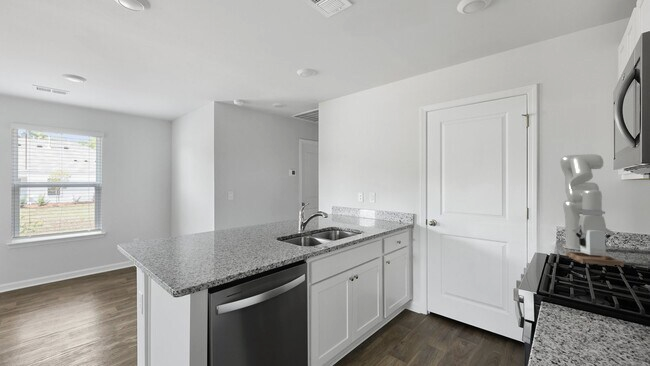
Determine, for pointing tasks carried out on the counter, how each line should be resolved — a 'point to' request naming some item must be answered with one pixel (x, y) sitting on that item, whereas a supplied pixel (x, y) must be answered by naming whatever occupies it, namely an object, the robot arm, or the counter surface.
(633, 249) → the counter surface
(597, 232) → the supplement box
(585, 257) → the walnut tray
